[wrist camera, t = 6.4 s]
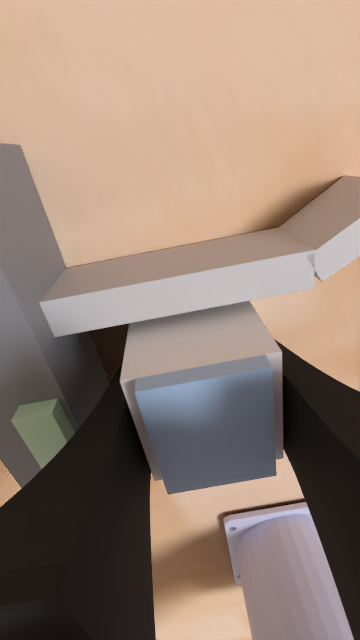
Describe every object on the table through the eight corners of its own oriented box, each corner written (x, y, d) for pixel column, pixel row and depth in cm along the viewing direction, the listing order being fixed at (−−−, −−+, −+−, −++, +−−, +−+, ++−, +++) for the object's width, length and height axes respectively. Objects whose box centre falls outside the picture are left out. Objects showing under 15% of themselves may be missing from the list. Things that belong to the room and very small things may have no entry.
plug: (242, 360, 14) (289, 473, 9) (155, 376, 14) (154, 496, 9) (234, 278, 12) (289, 364, 7) (133, 297, 12) (117, 395, 7)
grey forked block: (331, 433, 17) (386, 520, 13) (89, 475, 17) (69, 574, 13) (369, 73, 9) (540, 8, 5) (-74, 164, 9) (-247, 170, 5)
